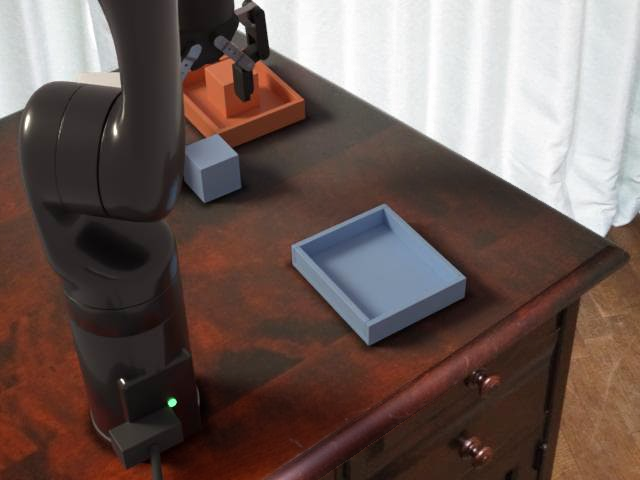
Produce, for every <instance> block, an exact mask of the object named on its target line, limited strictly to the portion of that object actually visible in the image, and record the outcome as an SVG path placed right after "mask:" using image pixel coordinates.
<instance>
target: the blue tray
mask: <svg viewBox="0 0 640 480" xmlns="http://www.w3.org/2000/svg"><path fill="white" fill-rule="evenodd" d="M291 261H292V266H293V267H294V268H295V269H296V270H297V271H298V272H299V273H300V275H302V276H303V277H304V278H305V280H306V281H307V282H308V283H309V284H310V285H311V286H312V288H314V289H315V290H316V291H317V293H318V294H320V296H321V297H322V298H323V299H324V300H325V301H326V302H327V303H328V304H329V305H330V306H331V307H332V308H333V310H334V311H335V312H336V313H337V314H338V315H339V316H340V317H341V318H342V320H344V321H345V322H346V323H347V324H348V326H350V328H351V329H352V330H353V331H354V332H355V333H356V334H357V335H358V336H359V337H360V338H361V340H362V341H364V343H365V344H366V345H367V346H368V347H369V346H372V345H374V344H376V343H377V342H380V341H381V340H383V339H385V338H388V337H389V336H391V335H392V334H395V333H397V332H399V331H401V330H403V329H404V328H405V329H406V328H407V327H409V326H411V325H413V324H415V323H417V322H419V321H421V320H423V319H425V318H427V317H428V316H431V315H433V314H434V313H436V312H438V311H441V310H442V309H444V308H446V307H449V306H451V305H453V304H454V303H456V302H458V301H461V300H462V299H464V298H465V296H466V285H467V277H466V276H465V275H464V274H463V273H462V272H461V271H460V270H459V269H457V268H456V267H455V266H454V265H453V264H452V263H451V262H450V261H449V260H448V259H446V258H445V257H444V256H443V254H441V253H440V252H439V251H438V250H437V249H436V248H435V247H433V246H432V244H430V243H429V242H428V241H427V240H426V239H424V238H423V237H422V236H421V235H420V233H418V232H417V231H416V230H415V229H414V228H413V227H412V226H410V225H409V224H408V223H407V222H406V221H405V220H404V219H402V217H401V216H400V215H398V214H397V213H396V212H395V211H394V210H393V209H392V208H391V207H390V206H389V205H388V204H386V203H383V204H380V205H378V206H376V207H374V208H371V209H369V210H367V211H365V212H362V213H360V214H358V215H356V216H353V217H352V218H349V219H347V220H344V221H343V222H340V223H338V224H336V225H333V226H331V227H330V228H327V229H325V230H323V231H320V232H318V233H316V234H313V235H311V236H309V237H307V238H305V239H302V240H300V241H298V242H296V243H294V244H292V245H291Z"/></svg>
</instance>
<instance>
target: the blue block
mask: <svg viewBox="0 0 640 480" xmlns="http://www.w3.org/2000/svg"><path fill="white" fill-rule="evenodd" d="M240 169H241V168H240V158H239V154H238V152H236V151H235V150H234V149H233V148H231V147H230V146H229V145H228V144H227V143H226V142H225V141H224V140H223V139H222V138H221V137H220V136H219V135H218V134H215V135H213V136H210V137H208V138H206V137H205V138H202V139H200V140H198V141H195V142H193V143H190V144H188V145H186V151H185V166H184V175H183V180H184V182H185V183H186V185H187V186H188V187H189V188H190V189H191V190H192V191H193V193H195V195H196V196H197V197H198V198H199V199H200V200H201V202H203V203H204V204H207V203H209V202H212V201H214V200H216V199H219V198H220V197H223V196H225V195H228V194H230V193H232V192H235V191H237V190H240V189H242V179H241V170H240Z"/></svg>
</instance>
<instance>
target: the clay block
mask: <svg viewBox="0 0 640 480" xmlns="http://www.w3.org/2000/svg"><path fill="white" fill-rule="evenodd" d="M234 63H235V62H234V61H233V60H232V59H231V58H230V59H227V60H224V61H222V62H219V63H216V64H213V65H211V66H208V67H205V77H206V86H207V96H208V100H209V101H210V102H211V103H212V104H213V105H214V106H215V107H216V108H217V109H218V110H219V111H220V112H221V113H222V114H223V115H224V116H225V117H226V118H229V117H232V116H234V115H237V114H240V113H242V112H245V111H247V110H250V109H252V108H255V107H258V106H260V95H259V80H258V73H257V72H256V71H255V70H254V69H253V80H254V91H253V94H251V95H250V96H251V100H250V101H247V102H242V101H241V100H240V99H239V98H238V97H237V96H236V94H235V92H234V82H233V71H232V64H234Z"/></svg>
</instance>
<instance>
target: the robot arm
mask: <svg viewBox="0 0 640 480" xmlns="http://www.w3.org/2000/svg"><path fill="white" fill-rule="evenodd" d="M97 2H98V4H99V7H100V9H101V11H102V13H103V15H104V18H105V21H106V23H107V27H108V28H109V31H110V35H111V38H112V41H113V46H114V49H115V50H114V51H115V54H116V61H117V66H118V72H119V73H120V82H121V88H119V87H111V86H103V85H95V84H87V83H78V82H76V81H69V80H55V81H54V80H53V81H49V82H47V83H45V84H44V83H43V85H41V86H40V87H38V88H37V89H36V90H34V92H33V93H32V95H30V97H29V99H28V100H27V102H26V103H25V106H24V108H23V110H22V114H21V117H20V121H19V127H18V133H17V135H18V136H17V159H18V161H17V162H18V167H19V172H20V173H19V174H20V179H21V183H22V187H23V191H24V194H25V197H26V201H27V204H28V208H29V211H30V213H31V216H32V219H33V223H34V225H35V228H36V232H37V234H38V237H39V241H40V244H41V247H42V251H43V254H44V257H45V259H46V262H47V264H48V265H49V267H50V269H51V270H52V272H54V273H55V275H56V276H57V277H58V280H59V281H58V282H59V286H60V290H61V293H62V297H63V301H64V306H65V311H66V314H67V318H68V323H69V327H70V331H71V336H72V340H73V344H74V348H75V352H76V356H77V361H78V365H79V368H80V373H81V377H82V381H83V384H84V385H83V386H84V390H85V393H86V397H87V400H88V403H89V413H90V417H91V422H92V426H93V429H94V431H95V433H96V434H97V436H98V437H99V439H101V441H103V442H104V443H105V444H107V446H109V447H111V448H112V450H113V452H114V453H115V455H116V456H117V458H118V459H119V461H120V462H121V464H122V465H123V467H124V468H125V470H130V469H131V468H134V467H135V466H138V465H140V464H141V463H144V462H145V461H147V460H149V461H150V470H151V479H152V480H164V476H163V468H162V460H161V453H163V452H165V451H167V450H169V449H171V448H173V447H175V446H177V445H179V444H181V443H183V442H184V441H185V439H186V438H188V437H190V436H192V435H194V434H196V433H198V432H200V431H201V430H202V428H203V427H202V426H203V425H202V420H201V414H200V413H201V397H200V392H199V388H198V386H197V379H196V373H195V366H194V359H193V351H192V344H191V338H190V331H189V324H188V318H187V310H186V309H187V308H186V301H185V295H184V289H183V279H182V274H181V273H182V272H181V267H180V260H179V253H178V245H177V241H176V240H177V239H176V237H175V234H174V232H173V230H172V228H171V226H170V225H169V224H168V222H167V221H166V220H165V219H166V218H167V217H168V216H169V215H170V214H171V213H172V211H173V210H174V208H175V206H176V204H177V202H178V199H179V197H180V193H181V189H182V184H183V180H184V166H185V151H186V146H187V145H186V141H187V140H186V139H187V138H186V135H187V134H186V117H185V111H184V95H183V82H184V80H185V78H186V76H187V74H188V72H189V70H191V71H195V70H197V69H200V68H201V67H203V66H204V65H206V64H214V63H216V62H219V61H220V58H221V57H222V56H224V55H227V56H228V57H229V58H231V59H232V60H233V61H234V62H235V63H234V64H232V71H233V82H234V92H235V94H236V96H237V97H238V98H239V99H240V100H241V101H242V102H247V101H250V100H251V96H250V95H251V94H253V91H254V80H253V68H254V67H255V64H256V63H257V62H258V61H259V60H260V61H266V60H268V59H269V57H270V55H271V50H270V49H271V48H270V43H269V35H268V27H267V19H266V11H265V10H264V9H263V8H261V6H260V5H259V4H257V3H256V2H254V1H253V0H243V2H242V3H241V7H238V8H235V5H236V4H235V0H97ZM240 24H241V25H242V26H243V27H244V30H245V37H246V38H245V39H246V45H247V46H245V47H244V48H245V49H244V48H240V47H238V46H237V45H236V44H235V43H234V42H232V40H233V38H234V37H235V34H236V32H237V30H238V28H239V27H240ZM241 49H243V50H241Z"/></svg>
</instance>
